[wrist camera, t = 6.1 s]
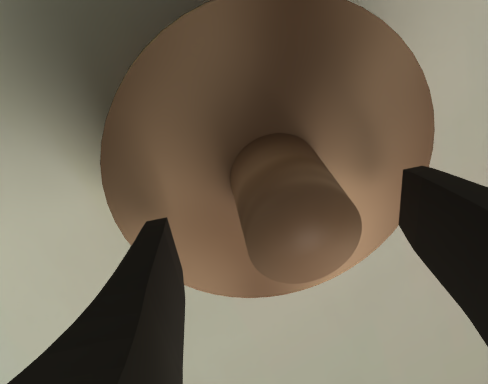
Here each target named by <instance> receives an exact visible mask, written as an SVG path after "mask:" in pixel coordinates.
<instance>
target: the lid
mask: <svg viewBox="0 0 488 384" xmlns="http://www.w3.org/2000/svg"><path fill="white" fill-rule="evenodd" d="M433 141H434V110H433V105H432V99H431V94H430V90H429V87H428V84H427V81H426V79H425V76H424V73H423V71H422V69H421V67H420V65H419V63H418V61H417V60H416V58H415V56H414V54H413V52H412V51H411V50H410V49H409V47H408V46H407V45H406V44H405V42H404V41H403V40H402V38H401V37H400V36H399V35H398V34H397V33H396V32H395V31H394V30H393V29H392V28H390V27H389V26H388V25H387V24H386V23H385V22H384V21H383V20H381V19H380V18H378V17H377V16H375V15H374V14H372V13H371V12H369V11H367V10H366V9H364V8H363V7H361V6H358V5H356V4H354V3H352V2H349V1H347V0H212V1H209V2H207V3H205V4H203V5H201V6H199V7H197V8H195V9H193V10H192V11H190V12H188V13H186V14H184V15H182V16H181V17H180V18H178V19H177V20H176V21H174V22H173V23H172V24H170V25H169V26H168V27H166V28H165V29H164V30H162V31H161V32H160V33H159V34H158V35H157V36H156V37H155V38H154V39H153V40H152V41H151V42H150V43H149V44H148V45H147V46H146V47H145V48H144V49H143V51H142V52H141V53H140V55H139V56H138V57H137V58H136V60H135V61H134V62H133V64H132V65H131V66H130V68H129V70H128V71H127V73H126V75H125V77H124V79H123V80H122V82H121V84H120V86H119V88H118V90H117V92H116V94H115V96H114V99H113V102H112V104H111V107H110V110H109V113H108V115H107V118H106V122H105V127H104V132H103V136H102V141H101V160H100V165H101V175H102V185H103V188H104V192H105V196H106V200H107V204H108V206H109V209H110V211H111V213H112V216H113V218H114V220H115V222H116V224H117V226H118V227H119V229H120V231H121V232H122V234H123V235H124V237H125V239H126V240H127V241H128V242H129V243H130V245H131V246H132V244H133V242H134V241H135V239H136V237H137V236H138V234H139V232H140V230H141V229H142V227H143V226H144V224H145V223H146V221H151V220H156V219H161V218H166V217H167V219H168V222H169V225H170V229H171V232H172V236H173V239H174V242H175V246H176V249H177V252H178V256H179V259H180V263H181V266H182V269H183V279H184V285H186V286H189V287H191V288H194V289H196V290H200V291H204V292H207V293H211V294H215V295H222V296H228V297H241V298H258V297H271V296H278V295H284V294H289V293H293V292H297V291H301V290H304V289H307V288H310V287H313V286H316V285H319V284H321V283H323V282H325V281H328V280H330V279H332V278H334V277H336V276H338V275H340V274H341V273H343V272H345V271H347V270H349V269H350V268H352V267H353V266H355V265H356V264H358V263H359V262H360V261H362V260H363V259H365V258H366V257H367V256H368V255H370V254H371V253H372V252H373V251H374V250H376V249H377V248H378V247H379V246H380V245H381V244H382V243H383V242H384V241H385V240H386V239H387V238H388V237H389V236H390V235H391V234H392V233H393V231H394V230H395V229H396V228H397V226H398V225H399V212H400V200H401V187H402V175H403V169H408V168H413V167H418V166H426V167H429V164H430V159H431V155H432V150H433Z"/></svg>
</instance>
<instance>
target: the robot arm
mask: <svg viewBox="0 0 488 384" xmlns="http://www.w3.org/2000/svg"><path fill="white" fill-rule="evenodd" d="M399 226H400V228H401V229H402V231H403V233H404V235H405V236H406V238H407V240H408V241H409V243H410V244H411V246H412V248H413V249H414V251H415V252H416V253H417V255H418V256H419V257H420V258H421V260H422V261H423V262H424V263H425V265H426V266H427V267H428V268H429V269H430V271H431V272H432V273H433V274H434V276H435V277H436V278H437V279H438V280H439V282H440V283H441V284H442V285H443V286H444V288H445V289H446V290H447V291H448V292H449V294H450V295H451V296H452V297H453V299H454V300H455V301H456V302H457V303H458V305H459V306H460V307H461V308H462V310H463V311H464V312H465V314H466V315H467V316H468V318H469V319H470V320H471V322H472V323H473V325H474V326H475V328H476V329H477V331H478V332H479V334H480V335H481V337H482V339H483V340H484V342H485V343H486V345H487V346H488V187H485V186H482V185H479V184H476V183H474V182H471V181H468V180H465V179H462V178H460V177H457V176H454V175H451V174H448V173H445V172H442V171H439V170H436V169H433V168H430V167H426V166H418V167H413V168H408V169H403V175H402V187H401V200H400V212H399ZM184 320H185V291H184V279H183V269H182V266H181V263H180V259H179V256H178V252H177V249H176V246H175V242H174V239H173V236H172V232H171V229H170V225H169V222H168V219H167V217H166V218H161V219H156V220H151V221H146V223H145V224H144V226H143V227H142V229H141V230H140V232H139V234H138V236H137V237H136V239H135V241H134V242H133V244H132V246H131V247H130V249H129V250H128V252H127V254H126V255H125V257H124V258H123V260H122V261H121V263H120V264H119V266H118V267H117V269H116V270H115V272H114V273H113V275H112V276H111V278H110V279H109V280H108V282H107V283H106V284H105V286H104V287H103V288H102V290H101V291H100V293H99V294H98V295H97V296H96V298H95V299H94V300H93V301H92V303H91V304H90V305H89V306H88V307H87V308H86V309H85V311H84V312H83V313H82V314H81V315H80V316H79V317H78V318H77V320H76V321H75V322H74V323H73V324H72V325H71V326H70V327H69V328H68V329H67V330H66V331H65V332H64V333H63V334H62V335H61V336H60V337H59V338H58V339H57V340H56V341H55V342H54V343H53V344H52V345H51V346H50V347H49V348H48V349H47V350H45V351H44V352H43V353H42V354H41V355H40V356H39V357H38V358H37V359H36V360H34V361H33V362H32V363H31V364H30V365H29V366H28V367H27V368H25V369H24V370H23V371H22V372H21V373H19V374H18V375H17V376H16V377H15V378H13V379H12V380H11V381H10V382H9V383H7V384H183V345H184Z"/></svg>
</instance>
